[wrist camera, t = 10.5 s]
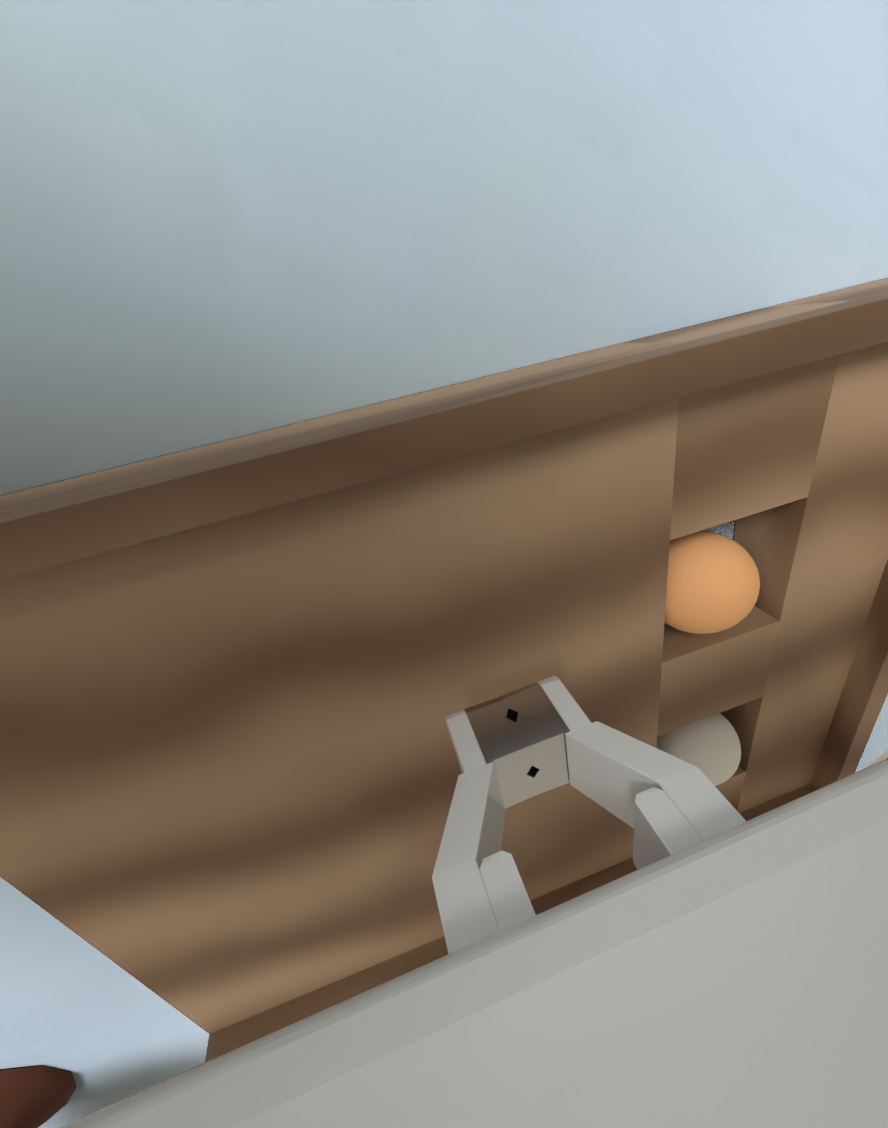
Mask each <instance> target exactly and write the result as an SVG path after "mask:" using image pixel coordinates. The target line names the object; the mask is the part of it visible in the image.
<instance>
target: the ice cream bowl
mask: <svg viewBox="0 0 888 1128" xmlns="http://www.w3.org/2000/svg"><path fill="white" fill-rule="evenodd" d="M75 1088H76V1085H75V1082H74V1079H73V1076H72V1073H71V1072H68V1071H63V1070H59V1069H55V1068H50V1067H46V1066H34V1067H24V1068H15V1069H5V1070H0V1128H38V1127H39V1126H40V1125H42V1124H43V1123H45V1122H46V1121H47V1120H49V1119H50V1118H51V1117H52V1116H53V1115H54V1114H55V1113H57V1112H58V1111H59V1110H60V1109H61V1108H62V1107H64V1106H65V1105H66V1104H67V1102H68V1101H69V1099H70V1097H71V1095H72V1093H73V1092H74V1090H75Z"/></svg>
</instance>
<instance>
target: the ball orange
mask: <svg viewBox="0 0 888 1128" xmlns="http://www.w3.org/2000/svg"><path fill="white" fill-rule="evenodd" d="M759 590H760V577H759V572H758V569H757V566H756V564H755V562H754V560H753V559H752V557H751V556H750V554H749V553H748V552H747V551H746V550H745V549H744V548H743V547H742V546H741V545H740V544H738V543H737V542H735V541H734V540H732V539H730V538H728V537H726V536H723V535H720V534H717V533H712V532H705V531H699V532H696V533H692V534H689V535H686V536H683V537H680V538H677V539H673V540H670V546H669V561H668V577H667V592H666V608H665V623H666V624H667V625H669V626H671V627H673V628H675V629H678V630H681V631H684V632H689V633H694V634H709V633H716V632H720V631H723V630H726V629H728V628H730V627H733V626H734V625H736V624H738V623H739V622H740V621H741V620H743V619H744V618H745V617H746V616H747V615H748V614H749V613H750V612H751V610H752V609H753V607H754V605H755V603H756V601H757V599H758V595H759Z"/></svg>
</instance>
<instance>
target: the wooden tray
mask: <svg viewBox="0 0 888 1128" xmlns="http://www.w3.org/2000/svg"><path fill="white" fill-rule="evenodd" d="M734 520H736V523H735V530H734V537H733V540H734V541H735V542H737V543H738V544H740V545H741V546H742V547H743V548H744V549H745V550H746V551H747V552H748V553H749V554H750V556H751V557H752V559H753V560H754V562H755V564H756V566H757V569H758V572H759V577H760V590H759V595H758V599H757V601H756V603H755V605H754V607H753V609H752V610H751V612H750V613H749V614H748V615H747V616H746V617H745V618H744V619H743V620H741V621H740V622H739V623H738V624H736V625H734V626H733V627H730V628H728V629H726V630H723V631H720V632H716V633H709V634H694V633H689V632H684V631H681V630H678V629H675V628H673V627H671V626H669V625H667V624H666V623H665V608H666V592H667V577H668V561H669V546H670V540H673V539H677V538H680V537H683V536H686V535H689V534H692V533H696V532H699V531H702V530H705V529H708V528H711V527H715V526H718V525H721V524H724V523H727V522H730V521H734ZM552 676H556V677H558V678H559V679H560V680H561V682H562V683H563V684H564V686H565V687H566V689H567V690H568V691H569V693H570V694H571V695H572V697H573V698H574V699H575V701H576V702H577V704H578V705H579V706H580V708H581V709H582V710H583V712H584V713H585V714H586V716H587V717H588V718H589V720H590V721H591V723H593V722H596V721H598V722H601V723H603V724H605V725H607V726H609V727H611V728H614V729H616V730H618V731H620V732H622V733H625V734H627V735H629V736H631V737H633V738H635V739H638V740H640V741H642V742H644V743H646V744H648V745H651V746H653V747H655V748H656V747H657V737H658V736H660V735H663V734H666V733H668V732H671V731H674V730H676V729H679V728H682V727H684V726H687V725H689V724H692V723H695V722H697V721H700V720H703V719H705V718H708V717H710V716H713V715H716V714H718V713H721V714H722V715H723V716H724V717H725V718H726V719H727V720H728V721H729V722H730V723H731V725H732V726H733V728H734V729H735V731H736V733H737V735H738V738H739V741H740V745H741V759H740V763H739V766H738V768H737V770H736V771H735V773H734V774H733V776H732V777H731V778H729V779H728V780H727V781H725V782H724V783H722V784H719V785H716V786H715V787H716V788H717V789H718V790H719V791H720V793H721V794H722V795H723V796H724V797H725V798H726V799H727V800H728V801H729V803H730V804H731V805H732V806H733V807H734V808H735V809H736V810H737V812H738V813H739V814H740V815H741V816H742V817H743V818H744V819H745V820H746V821H748V820H751V819H753V818H755V817H757V816H760V815H762V814H764V813H766V812H769V811H771V810H773V809H775V808H778V807H780V806H782V805H784V804H787V803H789V802H791V801H793V800H796V799H798V798H800V797H802V796H804V795H807V794H809V793H811V792H813V791H816V790H818V789H820V788H822V787H825V786H827V785H829V784H831V783H834V782H836V781H838V780H840V779H843V778H845V777H847V776H849V775H852V774H854V773H855V771H856V768H857V766H858V763H859V761H860V759H861V756H862V754H863V751H864V749H865V747H866V744H867V742H868V739H869V737H870V735H871V732H872V730H873V727H874V725H875V722H876V720H877V718H878V715H879V713H880V710H881V708H882V706H883V703H884V701H885V698H886V696H887V694H888V278H885V279H880V280H876V281H872V282H868V283H864V284H860V285H856V286H852V287H848V288H844V289H840V290H836V291H832V292H828V293H823V294H819V295H815V296H811V297H807V298H803V299H799V300H795V301H791V302H787V303H783V304H779V305H775V306H771V307H766V308H762V309H758V310H754V311H750V312H746V313H742V314H738V315H734V316H730V317H726V318H722V319H718V320H714V321H709V322H705V323H701V324H697V325H693V326H689V327H685V328H681V329H677V330H673V331H669V332H665V333H661V334H656V335H652V336H648V337H644V338H640V339H636V340H632V341H628V342H624V343H620V344H616V345H612V346H608V347H604V348H599V349H595V350H591V351H587V352H583V353H579V354H575V355H571V356H567V357H563V358H559V359H555V360H551V361H547V362H542V363H538V364H534V365H530V366H526V367H522V368H518V369H514V370H510V371H506V372H502V373H498V374H494V375H490V376H485V377H481V378H477V379H473V380H469V381H465V382H461V383H457V384H453V385H449V386H445V387H441V388H437V389H433V390H428V391H424V392H420V393H416V394H412V395H408V396H404V397H400V398H396V399H392V400H388V401H384V402H380V403H375V404H371V405H367V406H363V407H359V408H355V409H351V410H347V411H343V412H339V413H335V414H331V415H327V416H323V417H318V418H314V419H310V420H306V421H302V422H298V423H294V424H290V425H286V426H282V427H278V428H274V429H270V430H266V431H261V432H257V433H253V434H249V435H245V436H241V437H237V438H233V439H229V440H225V441H221V442H217V443H213V444H209V445H204V446H200V447H196V448H192V449H188V450H184V451H180V452H176V453H172V454H168V455H164V456H160V457H156V458H152V459H147V460H143V461H139V462H135V463H131V464H127V465H123V466H119V467H115V468H111V469H107V470H103V471H99V472H94V473H90V474H86V475H82V476H78V477H74V478H70V479H66V480H62V481H58V482H54V483H50V484H46V485H42V486H37V487H33V488H29V489H25V490H21V491H17V492H13V493H9V494H5V495H1V496H0V877H2V878H3V879H4V880H6V881H7V882H8V883H10V884H11V885H12V886H14V887H15V888H16V889H18V890H19V891H20V892H22V893H23V894H24V895H26V896H27V897H28V898H30V899H31V900H32V901H34V902H35V903H36V904H38V905H39V906H40V907H42V908H43V909H44V910H46V911H47V912H48V913H49V914H51V915H52V916H53V917H55V918H56V919H57V920H59V921H60V922H61V923H63V924H64V925H65V926H67V927H68V928H69V929H71V930H72V931H73V932H75V933H76V934H77V935H79V936H80V937H81V938H83V939H84V940H85V941H87V942H88V943H89V944H91V945H92V946H93V947H95V948H96V949H97V950H99V951H100V952H101V953H103V954H104V955H105V956H107V957H108V958H109V959H111V960H112V961H113V962H115V963H116V964H117V965H119V966H120V967H121V968H123V969H124V970H125V971H127V972H128V973H129V974H131V975H132V976H133V977H135V978H136V979H137V980H139V981H140V982H141V983H143V984H144V985H145V986H146V987H148V988H149V989H150V990H152V991H153V992H154V993H156V994H157V995H158V996H160V997H161V998H162V999H164V1000H165V1001H166V1002H168V1003H169V1004H170V1005H172V1006H173V1007H174V1008H176V1009H177V1010H178V1011H180V1012H181V1013H182V1014H184V1015H185V1016H186V1017H188V1018H189V1019H190V1020H192V1021H193V1022H194V1023H196V1024H197V1025H198V1026H200V1027H201V1028H202V1029H204V1030H205V1031H206V1032H208V1033H209V1034H210V1035H209V1041H208V1047H207V1054H206V1060H205V1063H206V1062H208V1061H210V1060H212V1059H215V1058H217V1057H219V1056H221V1055H224V1054H226V1053H228V1052H230V1051H233V1050H235V1049H237V1048H239V1047H242V1046H244V1045H246V1044H248V1043H251V1042H253V1041H255V1040H257V1039H260V1038H262V1037H264V1036H266V1035H269V1034H271V1033H273V1032H275V1031H277V1030H280V1029H282V1028H284V1027H286V1026H289V1025H291V1024H293V1023H295V1022H298V1021H300V1020H302V1019H304V1018H307V1017H309V1016H311V1015H313V1014H316V1013H318V1012H320V1011H322V1010H325V1009H327V1008H329V1007H331V1006H333V1005H336V1004H338V1003H340V1002H342V1001H345V1000H347V999H349V998H351V997H354V996H356V995H358V994H360V993H363V992H365V991H367V990H369V989H372V988H374V987H376V986H378V985H381V984H383V983H385V982H387V981H389V980H392V979H394V978H396V977H398V976H401V975H403V974H405V973H407V972H410V971H412V970H414V969H416V968H419V967H421V966H423V965H425V964H428V963H430V962H432V961H434V960H437V959H439V958H441V957H443V956H446V955H448V949H447V945H446V940H445V935H444V931H443V926H442V922H441V917H440V913H439V908H438V904H437V899H436V894H435V890H434V885H433V881H432V875H433V871H434V867H435V864H436V860H437V856H438V852H439V848H440V844H441V841H442V837H443V833H444V829H445V825H446V821H447V818H448V814H449V810H450V806H451V802H452V798H453V795H454V791H455V787H456V783H457V779H458V775H460V774H462V772H461V769H460V766H459V763H458V760H457V757H456V753H455V750H454V747H453V744H452V740H451V737H450V733H449V730H448V727H447V723H446V720H445V716H446V715H449V714H452V713H455V712H458V711H460V710H463V709H466V708H469V707H471V706H474V705H477V704H480V703H483V702H486V701H489V700H492V699H495V698H498V697H500V696H502V695H504V694H507V693H509V692H512V691H515V690H517V689H520V688H522V687H525V686H528V685H530V684H533V683H537V682H539V681H542V680H544V679H547V678H550V677H552ZM505 811H506V812H505V821H504V829H503V838H502V846H501V851H505V852H507V853H510V854H512V857H513V859H514V862H515V864H516V867H517V869H518V872H519V874H520V877H521V879H522V882H523V884H524V887H525V889H526V892H527V894H528V897H529V899H530V902H531V904H532V907H533V909H534V912H535V914H536V915H537V914H540V913H542V912H544V911H546V910H549V909H551V908H553V907H555V906H558V905H560V904H562V903H564V902H567V901H569V900H571V899H573V898H576V897H578V896H580V895H582V894H585V893H587V892H589V891H591V890H593V889H596V888H598V887H600V886H602V885H605V884H607V883H609V882H611V881H614V880H616V879H618V878H620V877H623V876H625V875H627V874H629V873H632V872H634V871H636V870H638V869H637V868H636V866H635V864H634V863H633V846H634V828H632V827H631V826H629V825H628V824H626V823H625V822H624V821H622V820H621V819H619V818H618V817H616V816H615V815H613V814H612V813H610V812H609V811H608V810H606V809H605V808H603V807H602V806H600V805H599V804H597V803H596V802H595V801H593V800H592V799H590V798H589V797H587V796H586V795H584V794H583V793H582V792H580V791H579V790H577V789H576V788H574V787H573V786H571V785H570V783H567V784H565V785H562V786H559V787H557V788H554V789H551V790H549V791H546V792H543V793H541V794H538V795H535V796H533V797H531V798H529V799H526V800H524V801H522V802H520V803H517V804H515V805H513V806H511V807H508V808H506V809H505Z"/></svg>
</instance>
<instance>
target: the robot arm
mask: <svg viewBox="0 0 888 1128" xmlns="http://www.w3.org/2000/svg"><path fill="white" fill-rule="evenodd" d="M445 720H446V723H447V727H448V730H449V733H450V737H451V740H452V744H453V747H454V750H455V753H456V757H457V760H458V763H459V766H460V769H461V772H462V774H460V775H458V779H457V783H456V787H455V791H454V795H453V798H452V802H451V806H450V810H449V814H448V818H447V821H446V825H445V829H444V833H443V837H442V841H441V844H440V848H439V852H438V856H437V860H436V864H435V867H434V871H433V875H432V881H433V885H434V890H435V894H436V899H437V904H438V908H439V913H440V917H441V922H442V926H443V931H444V935H445V940H446V945H447V949H448V955H446V956H443V957H441V958H439V959H437V960H434V961H432V962H430V963H428V964H425V965H423V966H421V967H419V968H416V969H414V970H412V971H410V972H407V973H405V974H403V975H401V976H398V977H396V978H394V979H392V980H389V981H387V982H385V983H383V984H381V985H378V986H376V987H374V988H372V989H369V990H367V991H365V992H363V993H360V994H358V995H356V996H354V997H351V998H349V999H347V1000H345V1001H342V1002H340V1003H338V1004H336V1005H333V1006H331V1007H329V1008H327V1009H325V1010H322V1011H320V1012H318V1013H316V1014H313V1015H311V1016H309V1017H307V1018H304V1019H302V1020H300V1021H298V1022H295V1023H293V1024H291V1025H289V1026H286V1027H284V1028H282V1029H280V1030H277V1031H275V1032H273V1033H271V1034H269V1035H266V1036H264V1037H262V1038H260V1039H257V1040H255V1041H253V1042H251V1043H248V1044H246V1045H244V1046H242V1047H239V1048H237V1049H235V1050H233V1051H230V1052H228V1053H226V1054H224V1055H221V1056H219V1057H217V1058H215V1059H212V1060H210V1061H208V1062H206V1063H204V1064H201V1065H199V1066H197V1067H195V1068H192V1069H190V1070H188V1071H186V1072H183V1073H181V1074H179V1075H177V1076H174V1077H172V1078H170V1079H168V1080H165V1081H163V1082H161V1083H159V1084H156V1085H154V1086H152V1087H150V1088H148V1089H145V1090H143V1091H141V1092H139V1093H136V1094H134V1095H132V1096H130V1097H127V1098H125V1099H123V1100H121V1101H118V1102H116V1103H114V1104H112V1105H109V1106H107V1107H105V1108H103V1109H100V1110H98V1111H96V1112H94V1113H91V1114H89V1115H87V1116H85V1117H82V1118H80V1119H78V1120H76V1121H74V1122H71V1123H69V1124H67V1125H65V1126H62V1127H60V1128H888V758H887V759H885V760H883V761H881V762H878V763H876V764H874V765H872V766H870V767H867V768H865V769H863V770H861V771H858V772H856V773H854V774H852V775H849V776H847V777H845V778H843V779H840V780H838V781H836V782H834V783H831V784H829V785H827V786H825V787H822V788H820V789H818V790H816V791H813V792H811V793H809V794H807V795H804V796H802V797H800V798H798V799H796V800H793V801H791V802H789V803H787V804H784V805H782V806H780V807H778V808H775V809H773V810H771V811H769V812H766V813H764V814H762V815H760V816H757V817H755V818H753V819H751V820H748V821H746V820H745V819H744V818H743V817H742V816H741V815H740V814H739V813H738V812H737V810H736V809H735V808H734V807H733V806H732V805H731V804H730V803H729V801H728V800H727V799H726V798H725V797H724V796H723V795H722V794H721V793H720V791H719V790H718V789H717V788H716V787H715V786H714V785H713V784H712V783H711V781H710V780H709V779H708V778H707V777H706V776H705V775H704V774H703V773H702V771H701V770H700V769H699V768H698V767H696V766H694V765H692V764H690V763H688V762H685V761H683V760H681V759H679V758H677V757H675V756H672V755H670V754H668V753H666V752H664V751H662V750H659V749H657V748H655V747H653V746H651V745H648V744H646V743H644V742H642V741H640V740H638V739H635V738H633V737H631V736H629V735H627V734H625V733H622V732H620V731H618V730H616V729H614V728H611V727H609V726H607V725H605V724H603V723H601V722H598V721H596V722H593V723H591V721H590V720H589V718H588V717H587V716H586V714H585V713H584V712H583V710H582V709H581V708H580V706H579V705H578V704H577V702H576V701H575V699H574V698H573V697H572V695H571V694H570V693H569V691H568V690H567V689H566V687H565V686H564V684H563V683H562V682H561V680H560V679H559V678H558V677H556V676H552V677H550V678H547V679H544V680H542V681H539V682H537V683H533V684H530V685H528V686H525V687H522V688H520V689H517V690H515V691H512V692H509V693H507V694H504V695H502V696H500V697H498V698H495V699H492V700H489V701H486V702H483V703H480V704H477V705H474V706H471V707H469V708H466V709H463V710H460V711H458V712H455V713H452V714H449V715H446V716H445ZM567 783H570V785H571V786H573V787H574V788H576V789H577V790H579V791H580V792H582V793H583V794H584V795H586V796H587V797H589V798H590V799H592V800H593V801H595V802H596V803H597V804H599V805H600V806H602V807H603V808H605V809H606V810H608V811H609V812H610V813H612V814H613V815H615V816H616V817H618V818H619V819H621V820H622V821H624V822H625V823H626V824H628V825H629V826H631V827H632V828H634V846H633V863H634V864H635V866H636V868H637V869H638V870H636V871H634V872H632V873H629V874H627V875H625V876H623V877H620V878H618V879H616V880H614V881H611V882H609V883H607V884H605V885H602V886H600V887H598V888H596V889H593V890H591V891H589V892H587V893H585V894H582V895H580V896H578V897H576V898H573V899H571V900H569V901H567V902H564V903H562V904H560V905H558V906H555V907H553V908H551V909H549V910H546V911H544V912H542V913H540V914H537V915H536V914H535V912H534V909H533V907H532V904H531V902H530V899H529V897H528V894H527V892H526V889H525V887H524V884H523V882H522V879H521V877H520V874H519V872H518V869H517V867H516V864H515V862H514V859H513V857H512V854H510V853H507V852H505V851H501V846H502V838H503V829H504V821H505V812H506V811H505V809H506V808H508V807H511V806H513V805H515V804H517V803H520V802H522V801H524V800H526V799H529V798H531V797H533V796H535V795H538V794H541V793H543V792H546V791H549V790H551V789H554V788H557V787H559V786H562V785H565V784H567Z"/></svg>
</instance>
